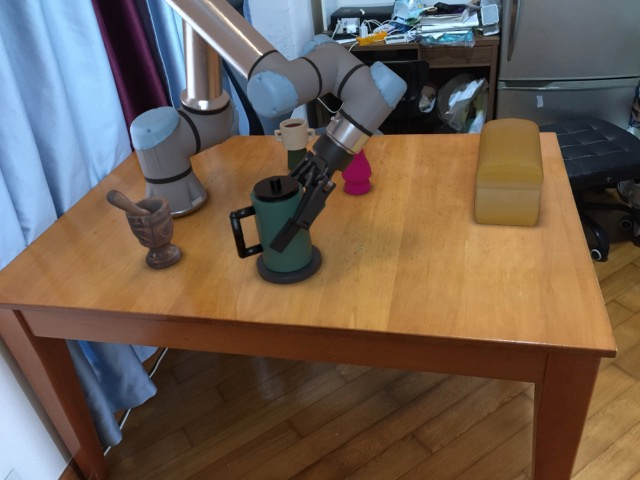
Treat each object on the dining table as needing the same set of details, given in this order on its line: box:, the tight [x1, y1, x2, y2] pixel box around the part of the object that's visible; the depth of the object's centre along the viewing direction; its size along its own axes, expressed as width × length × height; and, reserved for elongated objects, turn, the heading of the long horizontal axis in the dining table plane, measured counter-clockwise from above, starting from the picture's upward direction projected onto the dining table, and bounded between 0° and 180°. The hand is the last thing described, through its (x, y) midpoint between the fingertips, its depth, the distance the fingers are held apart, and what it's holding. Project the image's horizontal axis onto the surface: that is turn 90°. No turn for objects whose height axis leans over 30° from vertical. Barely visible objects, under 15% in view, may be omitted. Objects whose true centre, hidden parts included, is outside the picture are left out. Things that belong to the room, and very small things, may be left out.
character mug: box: [273, 117, 317, 172], centre depth 144 cm, size 11×7×13 cm, turn 80°
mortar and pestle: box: [105, 189, 182, 270], centre depth 110 cm, size 12×9×20 cm
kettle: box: [228, 174, 327, 272], centre depth 104 cm, size 19×10×18 cm, turn 114°
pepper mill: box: [341, 148, 372, 196], centre depth 129 cm, size 7×7×20 cm
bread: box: [473, 117, 545, 227], centre depth 119 cm, size 24×13×15 cm, turn 164°
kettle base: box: [256, 243, 322, 285], centre depth 110 cm, size 13×13×2 cm
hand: (270, 234), depth 106 cm, fingers open, 10 cm apart
